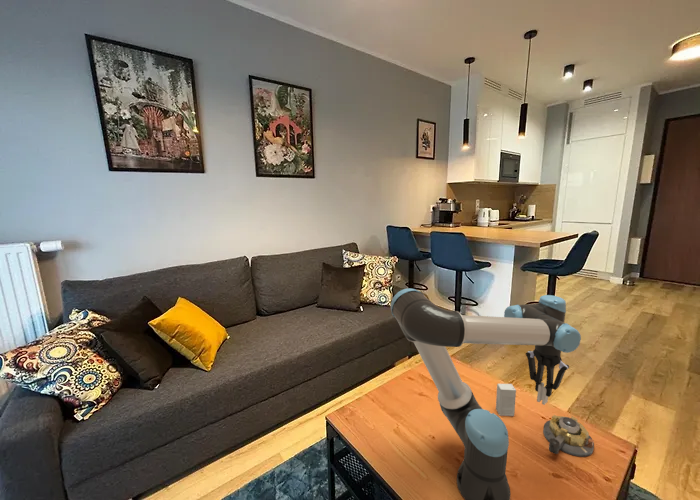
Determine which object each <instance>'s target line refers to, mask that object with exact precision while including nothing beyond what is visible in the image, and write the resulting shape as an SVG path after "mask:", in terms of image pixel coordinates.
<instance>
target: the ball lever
mask: <svg viewBox="0 0 700 500" xmlns="http://www.w3.org/2000/svg"><path fill="white" fill-rule="evenodd" d="M561 417H564V416H561V415H556V414H553V415H552V416H551V419H549V420H550V426H549V429H550V430H551V432H552V433H553V435H554V436H555V437H556V438H555V439H553V438H552V439H550V442H549V441H548V442H549V443H548V451H549V452H550V453H552V454H554V455H559V451H560V450H559V449H560V448H561V447H562V446H563V445H564V443H566V444H568V445H569V444H570V445H572V446H582V447H583V446H584V445H585V444H586V443H587V441H588V436H590V435H589V434H590V432H589V431H588V430H587V428H585V426H584V425H583V423H580V422H579V421H578V418H576V417H574V416H571V417H569V416H567V417H568V418H571V419H573V420H575V421H576V422H578V424H579V425H580V428H579V435H570V434H568V430H566V429H564V428H561V429H559V427H558V426H559V419H560V418H561Z"/></svg>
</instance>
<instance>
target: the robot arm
mask: <svg viewBox="0 0 700 500" xmlns="http://www.w3.org/2000/svg"><path fill="white" fill-rule="evenodd" d="M566 308H567V302H566V299H564V298H562V297H560V296H558V295H551V294H545V295H541V296H540V297H539V300H538V302H537V303H536V302H535V303H528V304H515V305H508V306H507V307H506V308H505V309H504V313H503V316H489V315H487V316H485V315H484V316H483V315H468V314H467V315H466V314H465V315H464V314H461V313H460V311H458V310H447V309H445V308H442V307H440V306H438V305H436V304H435V303H433V302H432V301H431V300H430V299H428V297H426V296H425V295H424V293H422V292H421V291H420V290H417V289H415V288H409V287H408V288H404V289H401V290H400V291H399V290H398V292H397V293H396V294H395V295H394V296H393V298H392V299H391V303H390V311H391V315H392V316H393V318H395V319H396V322H397V323H398V325H399V327H400V330H401V331H402V333H403V336H404V337H405V338H406V339H407V340H408V342H412V343H413V344H414V346H415V347H416V350H417V352H418V354H419V356H420V358H421V360H422V361H423V363H424V366H425V368H426V369H427V371H428V373H429V376H430V377H431V379H432V381H433V383H434V386H435V387H436V389H437V391H438V394H437V401H438V404H439V406H440V410H441V411H442V413H443V415H444V416H445V417H446V419H447V420H448V422H449V423H450V425H451V427H452V428H453V429H454V431H455V432H456V434H457V436H458V437H459V439H460V441H461V443H462V445H463V447H464V450H463V451H464V453H463V460H462V462H461V464H460V466H459V467H458V469H457V473H456V474H457V475H456V484H457V485H456V486H457V489H458V491H459V493H460V495H461V496H462V498H463V499H464V500H511V487H510V485H509V481H508V478H507V475H506V474H507V473H506V470H507V462H508V461H507V460H508V450H509V445H510V442H509V431H508V428H507V426H506V423H505V422H504V421H503V420H502V419H501V418H500V417H499V415H497V414H495V413H494V412H492V413H491V412H490V410H487V409H483V408H482V406H481V405H480V404H479V402H478V401H477V399H476V397H475V394H474V393H473V391H472V389H471V387H470V385H469V384H467V383H466V382H464V381H463V380H462V378H461V376H460V374H459V372H458V370H457V368H456V366H455V364H454V362H453V359H452V357H451V355H450V353H449V352H448V349H447V348H460V347H461V346H462V345H463V344H477V345H478V344H482V345H509V346H510V345H515V346H534V349H533V350H528V351H527V352H526V353H525V356H526V358H527V362H528V371H529V378H530V380H532V381H534V382H535V386H534V387H535V392H537V394H536V395H537V397H536V402H537V403H540V402H541V404H542V405H543V406H545V405H546V404H547V403H548V401H549V398H550V397H551V396H552V395H553V394H552V393H553V390H554V391H556V390H558V388H559V387H560V385H561V383H562V380H563V378H564V376H565V372H566V371H567V370H568V369H570V365H568V364H567V363H564V362H563V361H562V357H561V355H562V353H565V354H567V353H572V352H574V351H576V350H577V349H578V347H580V344H581V340H582V336H581V333H580V331H579V330H577V329H576V328H575V327H574V326H572V325H570V324H569V323H567V322H566V323H565V318H566V314H567V310H566ZM536 360H537V368H536ZM557 365H559V366H558V368H559V369H558V371H557V374H556V376H555V379H554V374H555V373H554V372H555V366H557ZM545 367H546V369H545ZM545 370H546V380H545V381H546V383H544V382H543V380H544V379H543V376H544V372H545Z"/></svg>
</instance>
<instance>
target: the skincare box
mask: <svg viewBox="0 0 700 500" xmlns="http://www.w3.org/2000/svg"><path fill="white" fill-rule="evenodd" d="M495 396H496V397H495V398H496V399H495V410H496V412H497V414H498V416H502V417H503V416H506V417H515V409H516V398H517V397H516V396H517V390H516V388H515V387H514V385H513V383H497V384H496V395H495Z"/></svg>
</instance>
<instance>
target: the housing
mask: <svg viewBox="0 0 700 500" xmlns="http://www.w3.org/2000/svg"><path fill="white" fill-rule="evenodd" d="M568 417H569V416H563V417H561V418H560V419H559V426H558V427H559V429H561V428H564V429H566V430H568V434H570V435H579V428H580V425H579V424H578V422H579V421H577V422H576V421H575V420H573V419H571V417H569V418H568ZM550 420H551V419H549V420H547V421H545V422H544V425H543V431H542V433H543V436H544V438H545V439H546V440H547V442H550V439H552V438H553V439H555V438H556V437H555V436H554V435H553V433H552V432H551V430H550V429H549V426H550ZM594 447H595V442H594V439H593V438H592V437H591V436H590V435H589V436H588V441H587V443H586V444H585V445H584V446H583V447H582V446H572V445H570V444H569V445H568V444H566V443H564V445H563V446H562V447H561V448H560V449H559V451H561V452H563V453H564V454H567V455H571V456H572V457H574V456H575V457H580V458H586V457H589V456H591V455H592V454H593V452H594Z"/></svg>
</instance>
